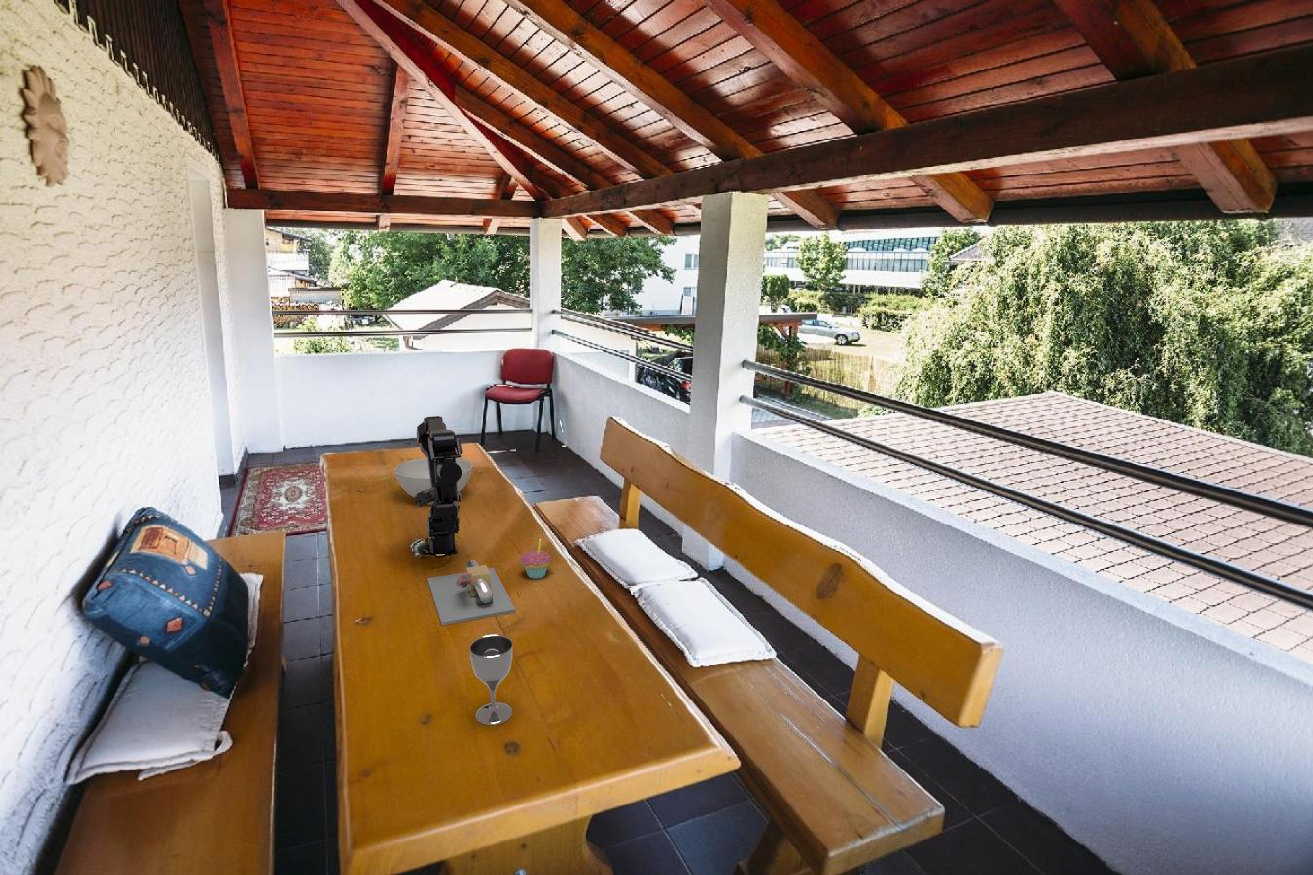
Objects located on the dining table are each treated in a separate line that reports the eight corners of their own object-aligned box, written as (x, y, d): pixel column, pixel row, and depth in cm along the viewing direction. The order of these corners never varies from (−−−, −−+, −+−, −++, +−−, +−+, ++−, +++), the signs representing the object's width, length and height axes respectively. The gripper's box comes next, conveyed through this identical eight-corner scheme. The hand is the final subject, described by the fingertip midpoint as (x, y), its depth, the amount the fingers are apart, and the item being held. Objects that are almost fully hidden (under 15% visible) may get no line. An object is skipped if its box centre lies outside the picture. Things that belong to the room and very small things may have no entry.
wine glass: (476, 701, 146) (473, 635, 142) (516, 700, 146) (514, 634, 143) (470, 727, 138) (466, 657, 134) (512, 725, 139) (509, 656, 135)
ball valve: (460, 577, 198) (459, 557, 196) (481, 574, 200) (480, 554, 199) (475, 610, 180) (473, 588, 179) (497, 606, 182) (496, 584, 181)
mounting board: (427, 580, 197) (427, 578, 197) (493, 570, 204) (493, 567, 204) (441, 625, 174) (441, 622, 174) (515, 611, 182) (515, 609, 181)
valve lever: (454, 580, 188) (460, 573, 178) (465, 578, 189) (471, 571, 179) (455, 589, 188) (461, 583, 177) (466, 587, 189) (472, 581, 179)
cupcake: (557, 572, 204) (556, 532, 201) (540, 584, 197) (539, 543, 194) (531, 566, 208) (530, 527, 205) (514, 577, 200) (512, 537, 197)
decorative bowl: (489, 496, 265) (488, 464, 262) (431, 517, 243) (429, 483, 240) (439, 482, 278) (437, 452, 275) (380, 501, 256) (377, 469, 253)
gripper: (419, 473, 204) (423, 527, 206) (410, 486, 186) (415, 545, 188) (459, 471, 206) (463, 524, 208) (455, 483, 188) (459, 541, 190)
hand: (450, 533), depth 199 cm, fingers closed
